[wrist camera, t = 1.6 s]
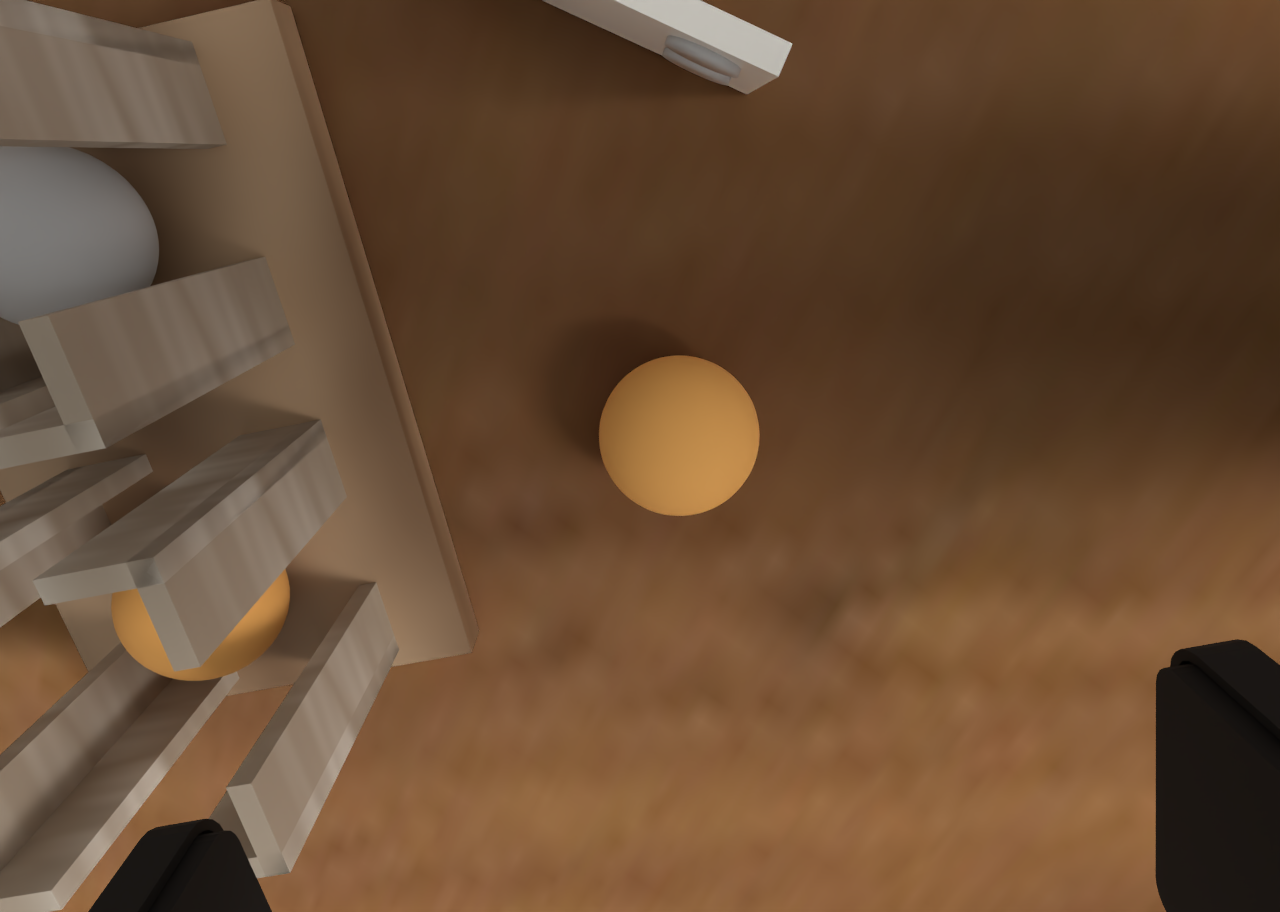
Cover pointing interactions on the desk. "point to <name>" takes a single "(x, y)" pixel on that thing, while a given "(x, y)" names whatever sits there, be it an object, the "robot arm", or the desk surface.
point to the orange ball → (679, 435)
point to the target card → (691, 37)
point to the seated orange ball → (229, 655)
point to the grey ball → (68, 232)
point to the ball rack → (205, 443)
